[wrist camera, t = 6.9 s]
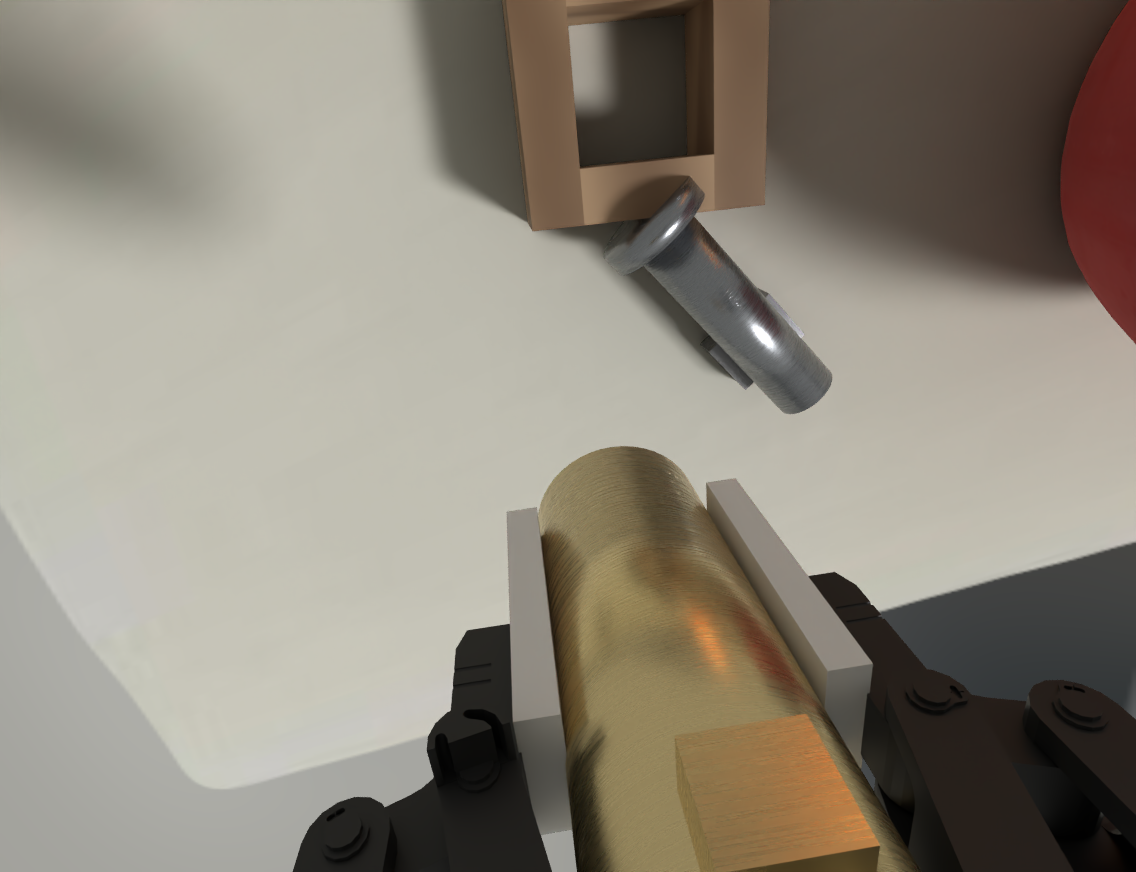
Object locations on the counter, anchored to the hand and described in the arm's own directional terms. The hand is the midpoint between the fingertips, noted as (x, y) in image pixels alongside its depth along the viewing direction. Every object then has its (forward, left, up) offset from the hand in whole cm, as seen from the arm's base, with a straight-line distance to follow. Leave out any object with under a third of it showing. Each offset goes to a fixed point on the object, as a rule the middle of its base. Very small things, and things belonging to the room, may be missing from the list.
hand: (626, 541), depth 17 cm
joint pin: (0, 0, -1) cm, 1 cm away
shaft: (-8, -2, -18) cm, 20 cm away
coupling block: (-4, -11, -18) cm, 22 cm away
